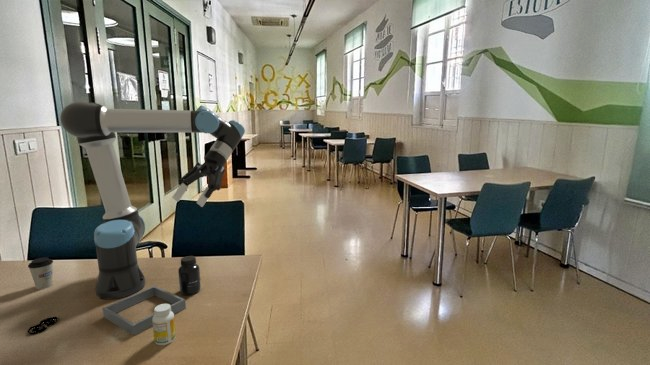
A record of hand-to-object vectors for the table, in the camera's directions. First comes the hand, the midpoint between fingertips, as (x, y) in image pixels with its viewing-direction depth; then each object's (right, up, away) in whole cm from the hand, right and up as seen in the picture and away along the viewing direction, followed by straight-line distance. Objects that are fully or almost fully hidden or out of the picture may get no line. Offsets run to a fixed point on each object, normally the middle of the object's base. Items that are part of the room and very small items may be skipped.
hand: (186, 202), depth 123 cm
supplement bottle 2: (+2, -31, -2) cm, 31 cm away
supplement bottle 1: (+5, -36, -28) cm, 46 cm away
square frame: (-7, -33, -15) cm, 37 cm away
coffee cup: (-52, -30, +1) cm, 60 cm away
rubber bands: (-33, -35, -22) cm, 53 cm away
